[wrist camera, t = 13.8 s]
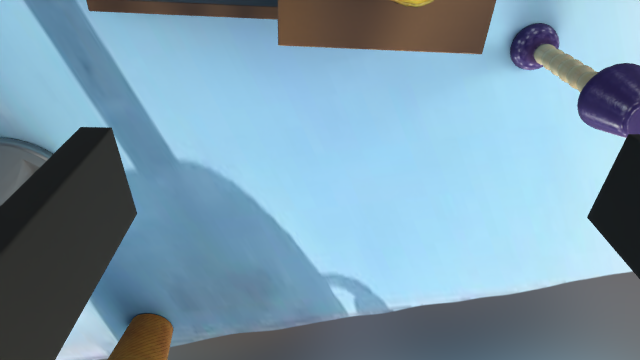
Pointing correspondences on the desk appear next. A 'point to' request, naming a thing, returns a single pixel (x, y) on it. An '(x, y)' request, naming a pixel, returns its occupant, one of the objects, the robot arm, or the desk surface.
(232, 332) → the desk surface
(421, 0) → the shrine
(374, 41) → the wood block with slats
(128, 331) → the disposable coffee cup
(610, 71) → the toy lamp
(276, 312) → the desk surface
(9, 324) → the robot arm
